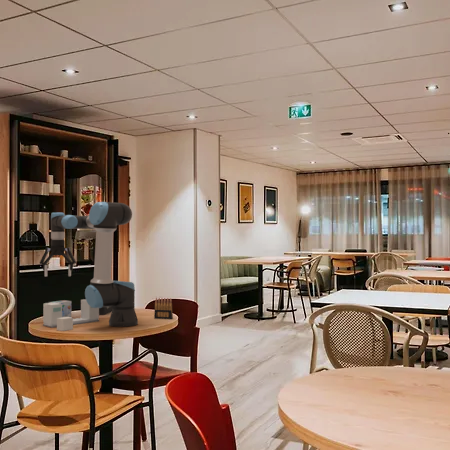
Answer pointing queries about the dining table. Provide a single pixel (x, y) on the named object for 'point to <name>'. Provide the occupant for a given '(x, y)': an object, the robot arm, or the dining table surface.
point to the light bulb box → (65, 307)
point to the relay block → (64, 323)
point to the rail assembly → (87, 315)
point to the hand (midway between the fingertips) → (57, 276)
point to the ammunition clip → (163, 309)
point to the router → (105, 310)
